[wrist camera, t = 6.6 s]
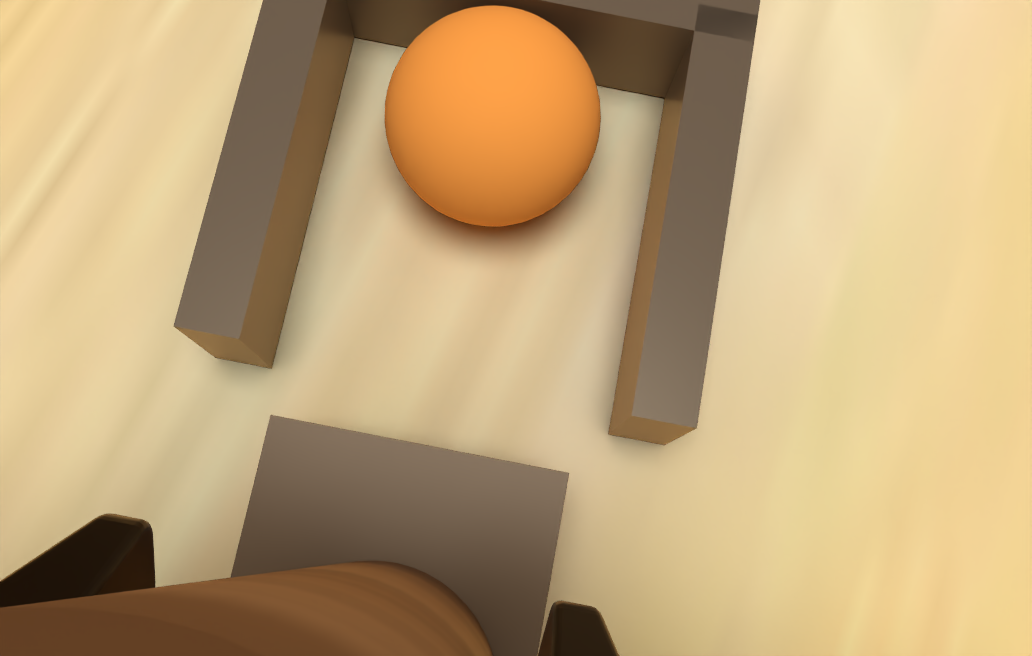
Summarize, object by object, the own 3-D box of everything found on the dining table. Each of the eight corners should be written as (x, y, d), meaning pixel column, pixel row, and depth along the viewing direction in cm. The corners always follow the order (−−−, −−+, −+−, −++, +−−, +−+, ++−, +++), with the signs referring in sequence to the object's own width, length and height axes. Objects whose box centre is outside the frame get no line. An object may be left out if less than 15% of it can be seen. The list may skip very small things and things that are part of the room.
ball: (503, 109, 19) (468, 274, 18) (368, 1, 17) (316, 183, 16) (655, 58, 17) (626, 243, 16) (523, -76, 15) (477, 131, 13)
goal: (664, 445, 17) (696, 427, 15) (215, 357, 17) (173, 326, 15) (723, 60, 19) (761, -11, 16) (314, -20, 19) (291, -104, 16)
